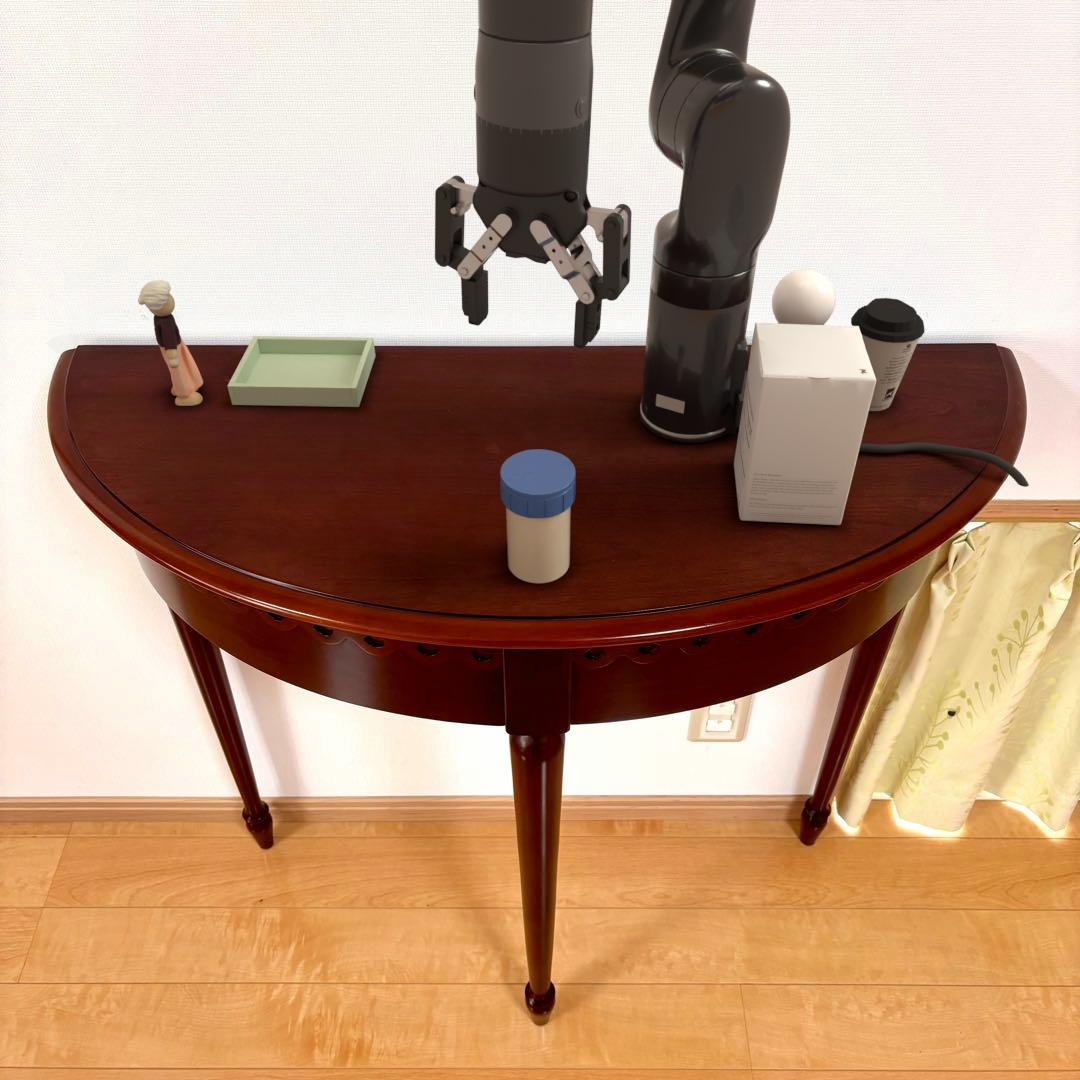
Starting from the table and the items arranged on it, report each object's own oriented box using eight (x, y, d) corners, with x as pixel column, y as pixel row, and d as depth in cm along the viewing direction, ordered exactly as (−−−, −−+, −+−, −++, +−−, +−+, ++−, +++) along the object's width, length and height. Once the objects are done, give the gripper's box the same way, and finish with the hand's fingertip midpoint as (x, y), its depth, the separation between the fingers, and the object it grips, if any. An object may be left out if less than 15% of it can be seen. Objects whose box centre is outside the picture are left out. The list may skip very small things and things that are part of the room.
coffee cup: (909, 419, 96) (936, 330, 89) (838, 416, 97) (860, 327, 90) (896, 382, 101) (920, 295, 95) (829, 379, 102) (848, 292, 95)
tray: (375, 356, 106) (373, 337, 105) (359, 407, 98) (356, 388, 97) (257, 354, 106) (253, 335, 105) (232, 405, 99) (227, 386, 97)
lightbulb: (749, 359, 105) (764, 265, 98) (798, 347, 107) (816, 254, 100) (782, 388, 101) (800, 291, 93) (832, 375, 102) (854, 279, 95)
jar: (570, 542, 82) (571, 457, 76) (569, 584, 78) (570, 498, 73) (509, 541, 83) (506, 456, 77) (505, 582, 79) (502, 497, 73)
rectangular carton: (829, 466, 90) (863, 323, 80) (842, 527, 84) (881, 379, 74) (731, 461, 91) (753, 318, 81) (736, 521, 84) (761, 374, 74)
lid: (575, 473, 78) (576, 449, 76) (574, 519, 74) (575, 495, 72) (503, 472, 78) (502, 448, 76) (498, 518, 74) (497, 493, 72)
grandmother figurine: (217, 403, 99) (186, 290, 91) (180, 415, 97) (146, 301, 89) (192, 371, 104) (160, 261, 95) (157, 382, 102) (122, 271, 94)
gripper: (656, 105, 63) (634, 329, 73) (459, 77, 67) (465, 293, 77) (619, 139, 57) (602, 375, 68) (408, 106, 61) (422, 334, 72)
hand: (529, 331), depth 73 cm, fingers open, 8 cm apart
